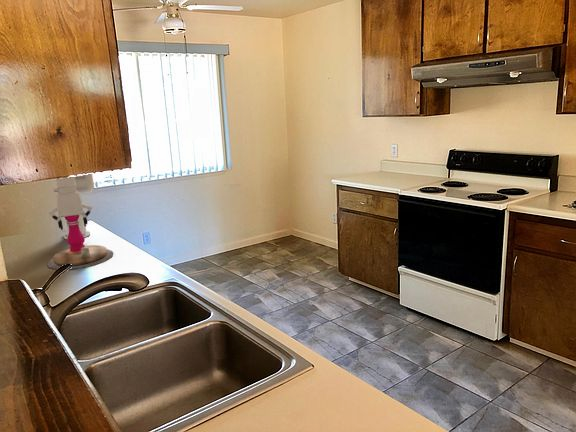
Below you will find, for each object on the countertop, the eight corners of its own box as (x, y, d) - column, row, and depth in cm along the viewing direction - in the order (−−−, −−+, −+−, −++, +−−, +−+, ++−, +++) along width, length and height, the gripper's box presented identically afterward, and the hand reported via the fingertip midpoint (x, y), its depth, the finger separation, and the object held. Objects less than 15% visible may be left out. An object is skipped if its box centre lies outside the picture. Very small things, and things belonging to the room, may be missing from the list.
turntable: (60, 269, 191) (57, 254, 190) (48, 257, 208) (46, 244, 206) (114, 256, 204) (111, 242, 203) (98, 246, 221) (96, 233, 219)
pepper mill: (89, 247, 213) (82, 204, 208) (80, 252, 206) (73, 208, 201) (74, 247, 213) (67, 205, 209) (65, 252, 206) (57, 209, 202)
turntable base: (33, 266, 199) (33, 265, 199) (81, 247, 223) (81, 246, 223) (81, 272, 189) (80, 270, 189) (126, 251, 213) (125, 249, 213)
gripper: (44, 193, 196) (51, 232, 200) (88, 189, 203) (94, 226, 207) (46, 191, 203) (52, 228, 207) (88, 186, 209) (94, 222, 213)
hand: (73, 227), depth 207 cm, fingers open, 9 cm apart
